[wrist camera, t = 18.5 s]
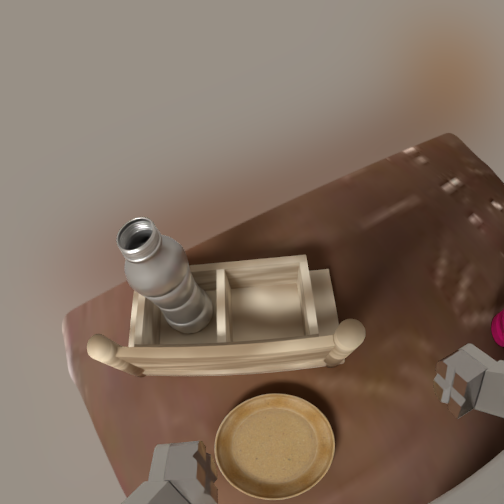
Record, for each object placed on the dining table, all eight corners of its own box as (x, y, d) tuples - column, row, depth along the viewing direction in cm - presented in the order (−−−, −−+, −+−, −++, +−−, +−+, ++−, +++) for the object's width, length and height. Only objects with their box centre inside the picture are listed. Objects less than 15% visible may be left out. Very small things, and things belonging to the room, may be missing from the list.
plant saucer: (350, 419, 32) (354, 419, 30) (298, 509, 26) (299, 515, 24) (251, 376, 37) (249, 374, 35) (199, 464, 30) (193, 467, 28)
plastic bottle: (224, 320, 40) (184, 237, 23) (183, 346, 38) (113, 281, 21) (202, 286, 43) (155, 192, 26) (163, 310, 41) (94, 229, 24)
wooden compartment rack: (342, 365, 36) (367, 344, 26) (131, 376, 37) (85, 358, 27) (327, 273, 44) (340, 226, 34) (138, 289, 45) (103, 250, 35)
